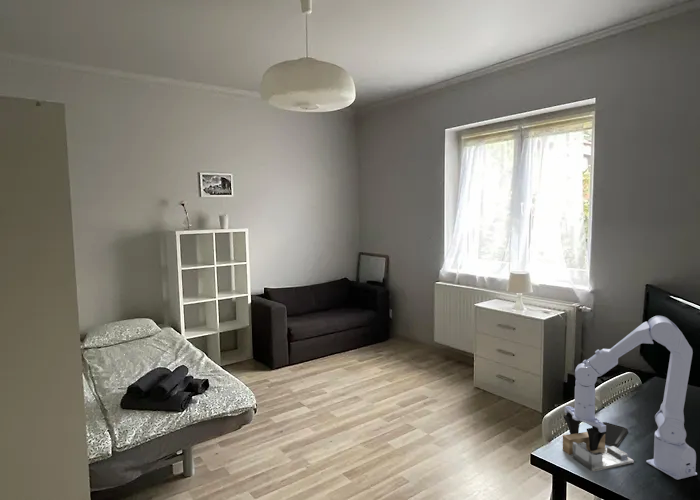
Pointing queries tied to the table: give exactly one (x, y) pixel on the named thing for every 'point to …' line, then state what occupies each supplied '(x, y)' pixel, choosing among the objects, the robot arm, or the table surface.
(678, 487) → the table surface
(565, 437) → the oak rail
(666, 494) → the table surface
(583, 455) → the bracket board
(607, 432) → the phone
